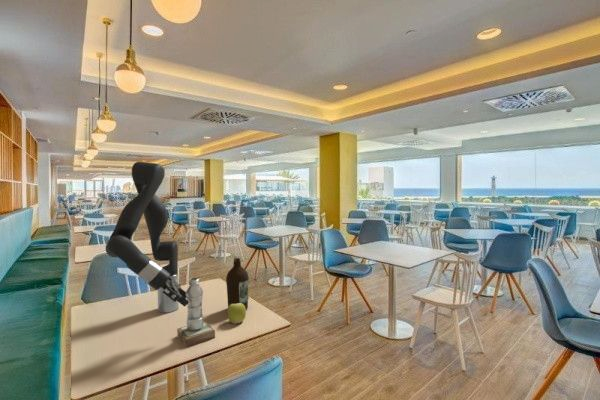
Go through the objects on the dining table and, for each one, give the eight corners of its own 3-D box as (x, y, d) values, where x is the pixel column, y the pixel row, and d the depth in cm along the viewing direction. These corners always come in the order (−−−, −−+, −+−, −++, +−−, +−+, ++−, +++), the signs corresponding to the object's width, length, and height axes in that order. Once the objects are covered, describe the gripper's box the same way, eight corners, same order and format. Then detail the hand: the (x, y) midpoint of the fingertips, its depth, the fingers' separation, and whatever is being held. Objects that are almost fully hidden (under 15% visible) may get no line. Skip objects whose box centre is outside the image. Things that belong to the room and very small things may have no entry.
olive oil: (222, 310, 148) (221, 259, 147) (236, 303, 157) (235, 254, 156) (239, 315, 143) (238, 261, 142) (253, 307, 152) (252, 257, 151)
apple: (244, 324, 131) (237, 301, 131) (228, 328, 133) (221, 305, 133) (251, 316, 139) (244, 295, 139) (235, 320, 141) (229, 299, 141)
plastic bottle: (207, 326, 125) (206, 277, 124) (196, 333, 118) (195, 282, 117) (194, 324, 127) (193, 276, 126) (182, 331, 120) (181, 280, 119)
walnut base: (177, 336, 123) (177, 328, 123) (204, 327, 130) (203, 320, 130) (187, 347, 115) (186, 338, 115) (215, 337, 122) (214, 329, 122)
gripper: (159, 271, 111) (194, 299, 115) (162, 262, 124) (193, 287, 128) (143, 288, 109) (179, 315, 113) (148, 277, 122) (180, 301, 127)
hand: (187, 300), depth 121 cm, fingers open, 8 cm apart
